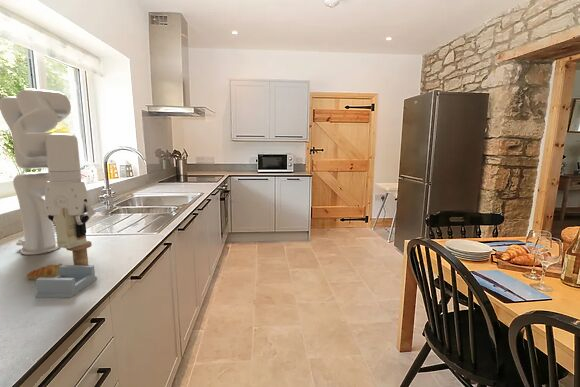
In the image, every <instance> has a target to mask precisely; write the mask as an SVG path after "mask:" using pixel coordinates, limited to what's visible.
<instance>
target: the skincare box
mask: <svg viewBox="0 0 580 387" xmlns="http://www.w3.org/2000/svg"><path fill="white" fill-rule="evenodd" d="M55 223H56V226H55V233H56V234H55V235H56V242H57V245H58V247H60V248H62V249H66V248H72V247H75V246H78V245H81V244H83V243H86V241H87V234H86V235H85V236H83V237H80V238H78V237H77V232H76V225H78V223H77V221H76V218H75V216H69V215H68V208H60V215H58V216H55Z"/></svg>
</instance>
